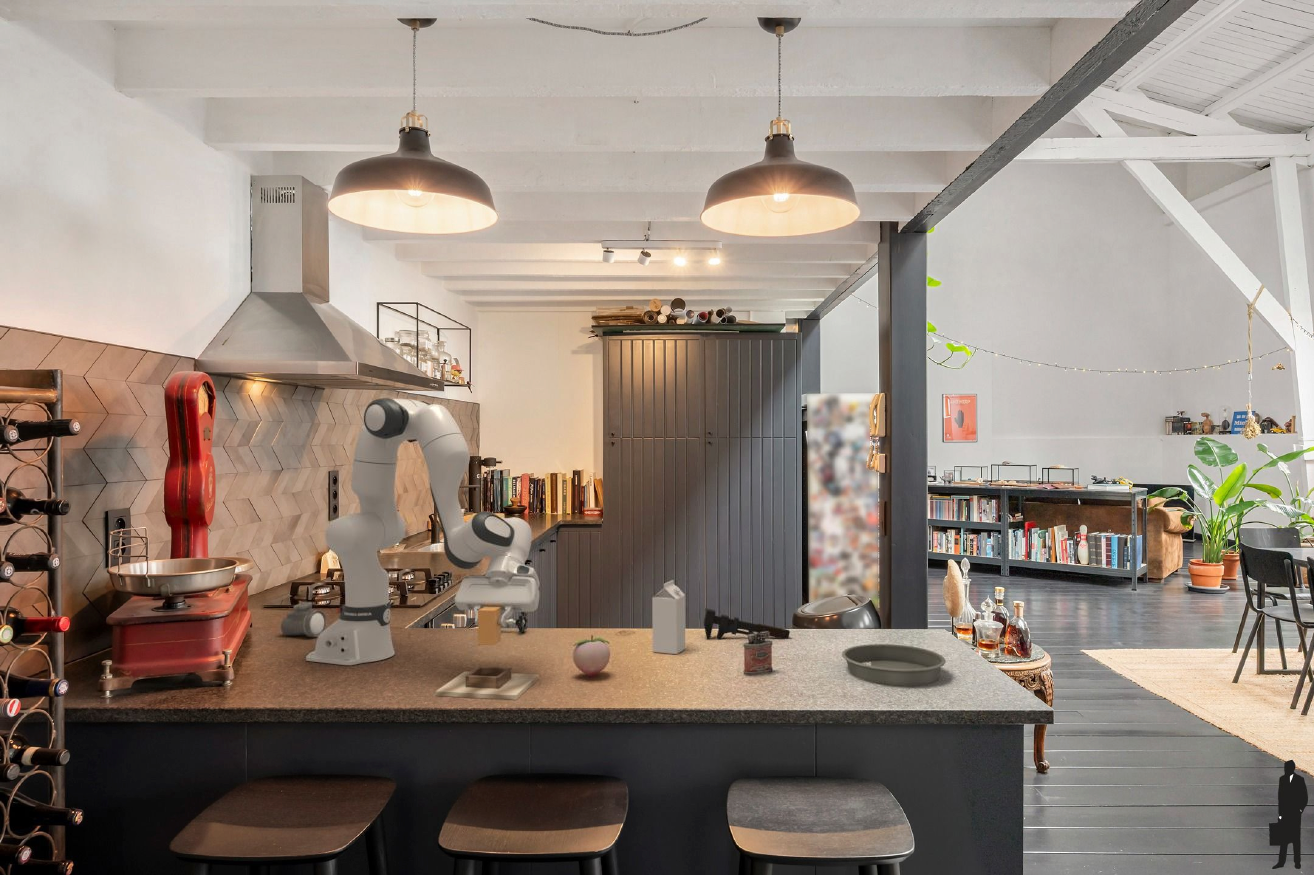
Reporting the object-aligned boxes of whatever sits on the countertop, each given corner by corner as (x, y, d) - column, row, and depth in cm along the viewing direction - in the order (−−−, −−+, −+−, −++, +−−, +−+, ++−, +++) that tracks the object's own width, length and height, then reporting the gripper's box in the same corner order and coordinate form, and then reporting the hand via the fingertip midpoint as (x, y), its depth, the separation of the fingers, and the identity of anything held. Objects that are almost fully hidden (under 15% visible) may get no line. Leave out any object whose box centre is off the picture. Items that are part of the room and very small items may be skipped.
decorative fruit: (583, 683, 181) (582, 641, 182) (568, 675, 188) (568, 634, 189) (617, 677, 186) (617, 636, 187) (601, 669, 193) (601, 629, 194)
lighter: (748, 676, 186) (748, 635, 187) (740, 673, 189) (740, 632, 190) (775, 672, 190) (775, 631, 190) (767, 668, 193) (767, 629, 193)
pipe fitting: (330, 632, 233) (325, 599, 233) (312, 640, 225) (307, 606, 225) (297, 634, 236) (292, 602, 236) (278, 643, 228) (273, 609, 228)
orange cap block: (478, 644, 178) (477, 610, 178) (484, 640, 182) (484, 606, 182) (494, 645, 177) (494, 610, 177) (500, 641, 181) (500, 607, 181)
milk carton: (652, 652, 210) (652, 583, 210) (661, 646, 216) (661, 579, 217) (676, 655, 207) (676, 584, 207) (685, 648, 214) (685, 580, 214)
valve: (483, 634, 232) (521, 636, 230) (483, 612, 232) (521, 613, 230) (490, 629, 238) (528, 630, 236) (490, 608, 238) (527, 609, 237)
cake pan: (914, 658, 204) (913, 641, 204) (966, 685, 179) (966, 666, 180) (826, 662, 200) (826, 645, 200) (868, 691, 175) (868, 671, 175)
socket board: (435, 695, 173) (435, 680, 173) (464, 675, 188) (464, 661, 189) (516, 699, 170) (516, 683, 170) (538, 678, 185) (538, 664, 185)
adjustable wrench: (785, 656, 224) (701, 638, 224) (783, 653, 227) (700, 636, 227) (790, 627, 224) (707, 610, 224) (789, 625, 227) (706, 608, 227)
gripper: (460, 567, 189) (443, 615, 179) (540, 568, 185) (527, 617, 175) (467, 582, 193) (451, 630, 183) (545, 584, 190) (533, 632, 180)
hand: (489, 624), depth 179 cm, fingers closed on orange cap block, 4 cm apart
